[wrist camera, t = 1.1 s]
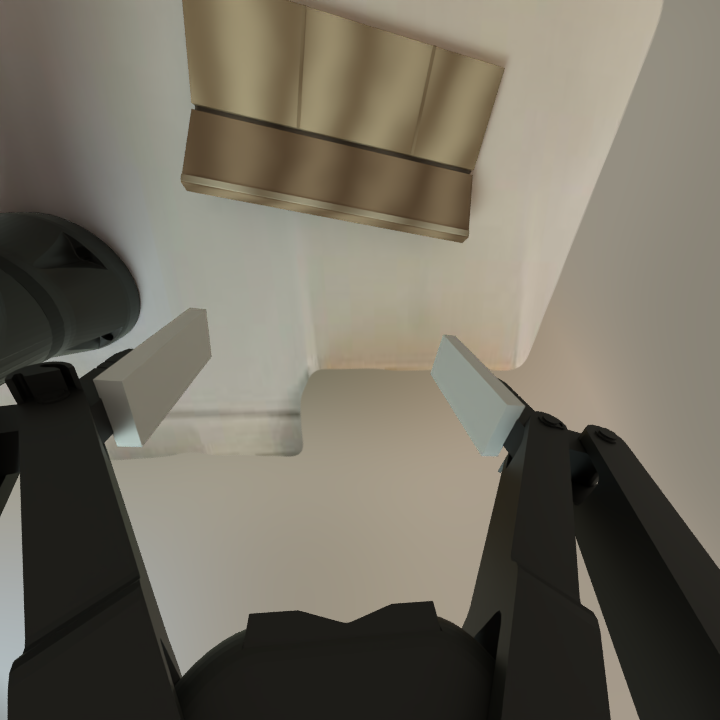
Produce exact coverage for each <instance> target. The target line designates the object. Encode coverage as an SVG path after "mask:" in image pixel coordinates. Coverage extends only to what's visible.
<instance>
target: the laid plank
mask: <svg viewBox="0 0 720 720" xmlns="http://www.w3.org/2000/svg"><path fill="white" fill-rule="evenodd" d="M182 2H183V13H184V25H185V36H186V47H187V58H188V69H189V80H190V92H191V103H193V104H194V105H195V110H198V111H202V112H207V113H211V114H215V115H219V116H224V117H228V118H232V119H236V120H241V121H245V122H249V123H253V124H258V125H262V126H266V127H270V128H275V129H279V130H283V131H287V132H292V133H296V134H300V135H304V136H309V137H313V138H317V139H321V140H326V141H330V142H334V143H338V144H343V145H347V146H351V147H355V148H360V149H364V150H368V151H372V152H377V153H381V154H385V155H389V156H394V157H398V158H402V159H406V160H411V161H415V162H419V163H423V164H428V165H432V166H436V167H440V168H445V169H449V170H453V171H457V172H462V173H466V174H470V172H471V171H472V170H474V167H475V164H476V161H477V157H478V154H479V151H480V148H481V144H482V141H483V138H484V134H485V131H486V128H487V125H488V121H489V118H490V115H491V111H492V108H493V105H494V102H495V98H496V95H497V92H498V88H499V85H500V82H501V79H502V75H503V72H504V69H505V68H503V67H499V66H496V65H493V64H490V63H487V62H483V61H480V60H477V59H474V58H471V57H467V56H464V55H461V54H458V53H454V52H451V51H448V50H445V49H442V48H438V47H437V46H434V45H433V46H432V45H429V44H426V43H422V42H419V41H416V40H413V39H410V38H406V37H403V36H400V35H397V34H393V33H390V32H387V31H384V30H381V29H377V28H374V27H371V26H368V25H365V24H361V23H358V22H355V21H352V20H349V19H345V18H342V17H339V16H336V15H332V14H329V13H326V12H323V11H320V10H316V9H313V8H310V7H307V6H305V5H300V4H297V3H294V2H291V1H287V0H182Z"/></svg>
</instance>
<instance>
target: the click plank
mask: <svg viewBox="0 0 720 720" xmlns="http://www.w3.org/2000/svg"><path fill="white" fill-rule="evenodd" d="M472 176H473V175H470V174H466V173H462V172H457V171H453V170H449V169H445V168H440V167H436V166H432V165H428V164H423V163H419V162H415V161H411V160H406V159H402V158H398V157H394V156H389V155H385V154H381V153H377V152H372V151H368V150H364V149H360V148H355V147H351V146H347V145H343V144H338V143H334V142H330V141H326V140H321V139H317V138H313V137H309V136H304V135H300V134H296V133H292V132H287V131H283V130H279V129H275V128H270V127H266V126H262V125H258V124H253V123H249V122H245V121H241V120H236V119H232V118H228V117H224V116H219V115H215V114H211V113H207V112H202V111H198V110H194V109H192V110H191V116H190V123H189V130H188V137H187V144H186V150H185V157H184V164H183V171H182V174H181V183H182V184H183V186H184V187H185V189H186V190H187V191H191V192H196V193H201V194H207V195H212V196H217V197H222V198H228V199H233V200H238V201H243V202H249V203H254V204H259V205H265V206H270V207H275V208H280V209H286V210H291V211H296V212H301V213H307V214H312V215H317V216H323V217H328V218H333V219H338V220H344V221H349V222H354V223H359V224H365V225H370V226H375V227H381V228H386V229H391V230H396V231H402V232H407V233H412V234H417V235H423V236H428V237H433V238H439V239H444V240H449V241H454V242H460V243H463V242H464V241H465V240H466V239H467V238H468V236H469V218H470V204H471V190H472Z"/></svg>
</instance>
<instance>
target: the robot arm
mask: <svg viewBox="0 0 720 720" xmlns="http://www.w3.org/2000/svg"><path fill="white" fill-rule="evenodd" d="M139 311H140V300H139V294H138V290H137V287H136V285H135V282H134V280H133V278H132V276H131V274H130V272H129V271H128V269H127V268H126V266H125V265H124V263H123V262H122V261H121V260H120V258H119V257H118V256H117V255H116V254H115V253H114V252H113V251H112V250H111V249H110V248H109V247H108V246H107V245H106V244H105V243H104V242H102V241H101V240H100V239H99V238H97V237H96V236H94V235H93V234H92V233H90V232H89V231H87V230H85V229H84V228H82V227H80V226H78V225H76V224H74V223H72V222H70V221H67V220H65V219H62V218H59V217H56V216H52V215H48V214H42V213H32V212H25V213H0V385H2V384H4V383H6V384H7V386H8V388H9V390H10V392H11V393H12V395H13V397H14V399H15V401H16V402H17V405H8V406H0V516H1V514H2V511H3V509H4V507H5V505H6V503H7V500H8V498H9V496H10V494H11V491H12V489H13V487H14V485H15V482H16V480H17V478H18V476H19V474H20V489H21V521H22V553H23V583H24V584H23V585H24V614H25V616H24V617H25V649H24V652H23V654H22V655H21V656H20V657H19V658H17V659H16V660H15V661H14V662H13V664H12V668H11V670H10V673H9V683H8V720H611V719H610V710H609V701H608V692H607V684H606V675H605V667H604V659H603V650H602V642H601V633H600V628H599V624H598V620H597V618H596V616H595V615H594V613H593V612H592V611H591V610H589V609H588V608H586V607H585V606H583V605H582V604H581V602H580V596H579V582H578V568H577V554H576V540H575V536H576V539H577V542H578V545H579V548H580V551H581V554H582V556H583V559H584V562H585V565H586V568H587V571H588V574H589V576H590V579H591V582H592V585H593V587H594V591H595V593H596V596H597V599H598V602H599V605H600V608H601V611H602V614H603V616H604V619H605V622H606V625H607V628H608V631H609V634H610V636H611V639H612V642H613V645H614V648H615V651H616V654H617V656H618V659H619V662H620V665H621V668H622V671H623V673H624V676H625V679H626V682H627V685H628V688H629V691H630V693H631V696H632V699H633V702H634V705H635V708H636V711H637V714H638V716H639V719H640V720H720V569H719V568H718V567H717V565H716V564H715V563H714V561H713V560H712V559H711V557H710V556H709V554H708V553H707V552H706V551H705V549H704V548H703V546H702V545H701V544H700V543H699V541H698V540H697V538H696V537H695V536H694V535H693V533H692V532H691V530H690V529H689V528H688V526H687V525H686V524H685V522H684V521H683V519H682V518H681V517H680V516H679V514H678V513H677V512H676V510H675V509H674V507H673V506H672V505H671V503H670V502H669V501H668V499H667V498H666V497H665V495H664V494H663V493H662V491H661V490H660V489H659V487H658V486H657V484H656V483H655V482H654V480H653V479H652V478H651V476H650V475H649V474H648V473H647V471H646V470H645V468H644V467H643V466H642V464H641V463H640V462H639V460H638V459H637V458H636V456H635V455H634V454H633V452H632V451H631V449H630V448H629V447H628V445H627V444H626V443H625V442H624V441H623V440H622V439H621V438H620V437H618V436H617V435H616V434H615V433H614V432H612V431H609V430H608V429H606V428H602V427H600V426H595V425H588V426H587V427H586V428H585V429H584V431H583V432H582V433H578V432H574V431H570V430H567V427H566V426H565V425H564V424H563V423H562V422H561V421H560V420H559V419H557V418H555V417H554V416H551V415H550V414H547V413H544V412H539V411H536V412H535V411H534V410H533V409H532V408H531V407H530V406H529V405H528V404H527V403H526V402H525V401H524V400H523V399H522V398H521V397H520V396H518V394H517V393H516V392H515V391H513V390H512V388H511V387H510V386H508V385H507V384H506V383H505V382H503V381H502V380H500V379H499V378H497V377H496V376H495V375H494V374H493V373H491V371H490V370H489V369H488V368H487V367H486V366H485V365H484V364H483V363H482V362H481V361H480V360H479V359H478V358H477V357H476V356H475V355H474V354H473V353H472V352H471V351H470V350H469V349H468V348H467V347H466V346H465V345H464V344H463V343H462V342H461V341H460V340H459V339H458V338H457V337H456V336H452V335H443V337H442V340H441V343H440V346H439V349H438V352H437V355H436V358H435V361H434V364H433V368H432V371H431V375H432V377H433V379H434V380H435V382H436V384H437V385H438V387H439V388H440V390H441V392H442V393H443V395H444V396H445V398H446V400H447V401H448V403H449V404H450V406H451V408H452V409H453V411H454V412H455V414H456V416H457V417H458V419H459V421H460V422H461V423H462V425H463V427H464V429H465V430H466V432H467V433H468V435H469V437H470V438H471V440H472V441H473V443H474V445H475V446H476V448H477V450H478V451H479V453H480V454H481V456H498V454H499V453H500V451H501V449H502V447H503V446H504V447H505V448H506V450H507V451H508V455H507V457H506V458H505V460H504V462H503V463H502V465H501V467H500V469H499V470H498V472H500V473H501V472H502V473H501V478H500V482H499V486H498V491H497V495H496V499H495V504H494V508H493V512H492V516H491V520H490V525H489V529H488V533H487V537H486V542H485V546H484V550H483V555H482V559H481V563H480V568H479V571H478V576H477V580H476V585H475V589H474V593H473V597H472V601H471V606H470V609H469V613H468V615H467V618H466V620H465V622H464V625H463V627H462V628H460V627H459V626H457V625H455V624H454V623H451V622H450V621H448V620H445V619H443V618H441V617H438V616H437V614H436V611H435V607H434V603H433V601H426V602H412V603H398V604H391V605H388V606H386V607H384V608H381V609H379V610H377V611H375V612H372V613H370V614H368V615H366V616H364V617H361V618H359V619H357V620H355V621H352V622H349V623H343V622H339V621H335V620H331V619H328V618H324V617H320V616H317V615H313V614H309V613H306V612H302V611H298V610H297V611H283V612H268V613H254V614H249V618H248V623H247V629H246V630H243V631H241V632H238V633H236V634H234V635H233V636H231V637H229V638H227V639H226V640H224V641H222V642H221V643H219V644H218V645H217V646H215V647H214V648H213V649H211V650H210V651H209V652H207V653H206V654H205V655H204V656H203V657H202V658H201V659H200V660H198V661H197V662H196V663H195V664H194V665H193V666H192V667H191V668H190V669H189V670H188V671H187V673H185V675H184V676H183V677H182V675H181V673H180V669H179V666H178V664H177V661H176V658H175V655H174V652H173V650H172V647H171V644H170V642H169V639H168V636H167V633H166V630H165V627H164V624H163V621H162V618H161V615H160V612H159V608H158V605H157V602H156V599H155V596H154V593H153V590H152V587H151V584H150V581H149V578H148V575H147V571H146V569H145V565H144V562H143V560H142V556H141V553H140V550H139V547H138V544H137V541H136V538H135V535H134V531H133V529H132V525H131V522H130V519H129V516H128V513H127V510H126V507H125V504H124V501H123V498H122V495H121V491H120V488H119V486H118V482H117V479H116V476H115V473H114V470H113V467H112V464H111V461H110V458H109V455H108V451H107V449H106V446H105V444H104V442H105V441H106V440H107V439H108V438H109V437H110V436H111V435H112V434H113V436H114V438H115V441H116V444H117V446H123V447H143V445H144V444H145V443H146V441H147V440H148V439H149V437H150V436H151V435H152V434H153V432H154V431H155V430H156V428H157V427H158V426H159V424H160V423H161V422H162V421H163V419H164V418H165V417H166V415H167V414H168V413H169V411H170V410H171V409H172V408H173V406H174V405H175V404H176V402H177V401H178V400H179V398H180V397H181V396H182V394H183V393H184V392H185V391H186V389H187V388H188V387H189V385H190V384H191V383H192V381H193V380H194V379H195V378H196V376H197V375H198V374H199V372H200V371H201V370H202V368H203V367H204V366H205V364H206V363H207V362H208V361H209V359H210V358H211V357H212V356H211V347H210V339H209V330H208V322H207V313H206V309H196V308H189V309H188V310H186V311H185V312H184V313H182V314H181V315H179V316H178V317H177V318H175V319H174V320H173V321H171V322H170V323H169V324H167V325H166V326H165V327H163V328H162V329H161V330H159V331H158V332H156V333H155V334H154V335H152V336H151V337H150V338H148V339H147V340H146V341H144V342H143V343H142V344H140V345H139V346H138V347H136V348H135V349H127V350H124V351H122V352H119V353H116V354H114V355H113V356H111V357H110V358H108V359H107V360H106V361H105V362H103V363H101V364H100V365H98V366H97V368H94V369H93V370H91V371H90V372H88V373H87V374H85V375H84V376H83V377H81V378H80V379H79V378H78V376H77V373H76V370H75V368H74V366H73V365H72V364H70V363H66V362H44V361H46V360H48V359H50V358H52V357H57V356H63V355H68V354H74V353H79V352H85V351H90V350H96V349H100V348H102V347H105V346H108V345H110V344H112V343H113V342H115V341H117V340H118V339H120V338H122V337H123V336H125V335H126V334H127V333H129V332H130V331H131V329H132V328H133V327H134V325H135V324H136V322H137V319H138V316H139ZM42 362H44V363H42ZM597 482H598V484H597Z"/></svg>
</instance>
